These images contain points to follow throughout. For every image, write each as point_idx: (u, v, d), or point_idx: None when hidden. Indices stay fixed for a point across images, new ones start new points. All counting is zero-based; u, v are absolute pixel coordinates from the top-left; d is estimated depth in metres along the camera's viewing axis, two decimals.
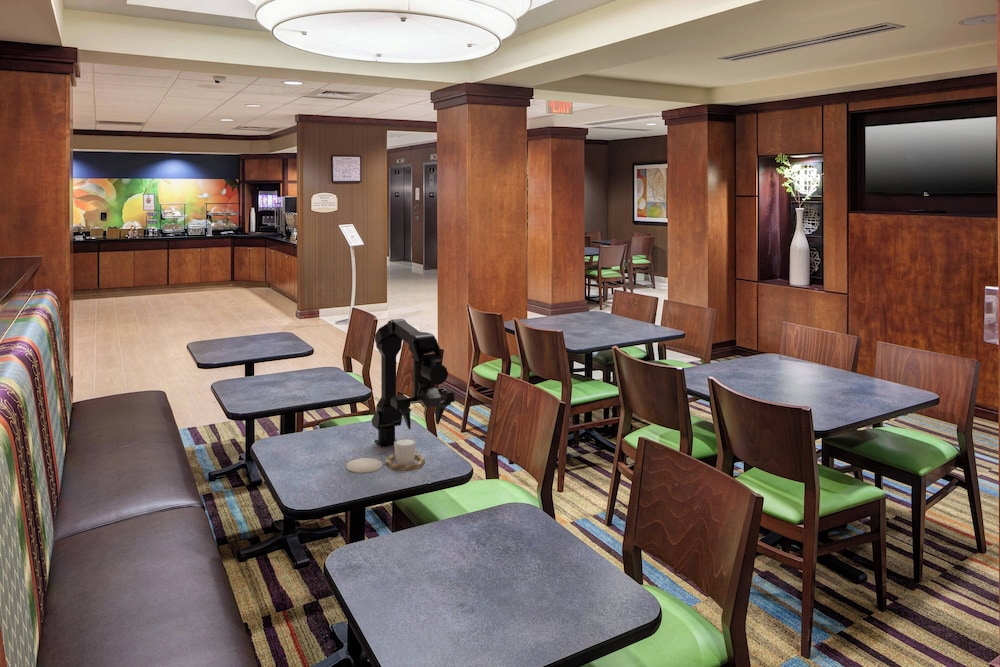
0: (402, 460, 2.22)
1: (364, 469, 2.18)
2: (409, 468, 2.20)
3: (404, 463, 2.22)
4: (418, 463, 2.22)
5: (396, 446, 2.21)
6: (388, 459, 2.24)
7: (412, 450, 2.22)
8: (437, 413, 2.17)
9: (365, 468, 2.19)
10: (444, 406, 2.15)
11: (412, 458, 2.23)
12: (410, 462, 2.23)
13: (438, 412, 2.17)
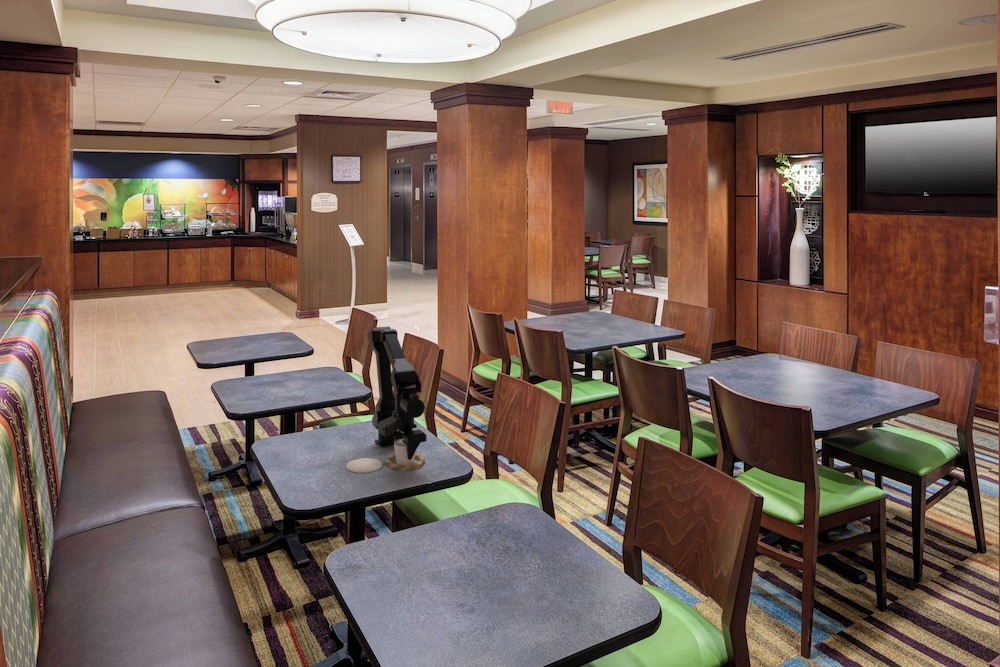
0: (402, 460, 2.22)
1: (364, 469, 2.18)
2: (409, 468, 2.20)
3: (404, 463, 2.22)
4: (418, 463, 2.22)
5: (396, 446, 2.21)
6: (388, 459, 2.24)
7: None
8: None
9: (365, 468, 2.19)
10: None
11: (412, 458, 2.23)
12: (410, 462, 2.22)
13: None
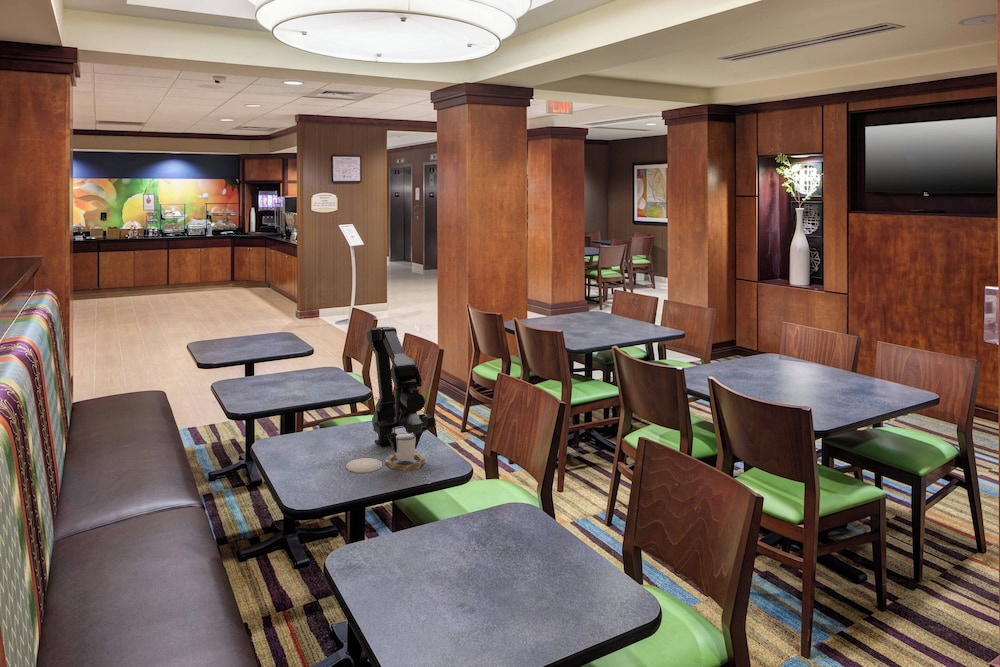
0: (414, 451, 2.24)
1: (364, 469, 2.18)
2: (409, 468, 2.20)
3: None
4: (418, 463, 2.22)
5: (411, 441, 2.21)
6: (388, 459, 2.24)
7: None
8: None
9: (365, 468, 2.19)
10: (421, 431, 2.23)
11: None
12: None
13: (416, 437, 2.25)
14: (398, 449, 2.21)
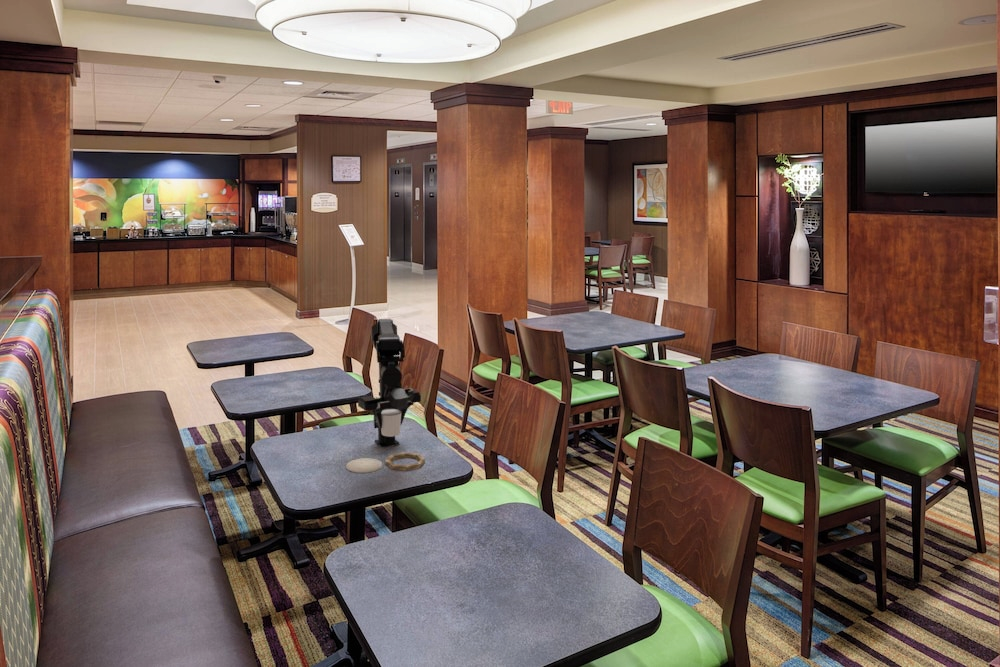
0: None
1: (364, 469, 2.18)
2: (409, 468, 2.20)
3: None
4: (418, 463, 2.22)
5: (397, 416, 2.18)
6: (388, 459, 2.24)
7: None
8: None
9: (365, 468, 2.19)
10: (407, 406, 2.21)
11: None
12: None
13: (401, 412, 2.22)
14: (384, 425, 2.19)
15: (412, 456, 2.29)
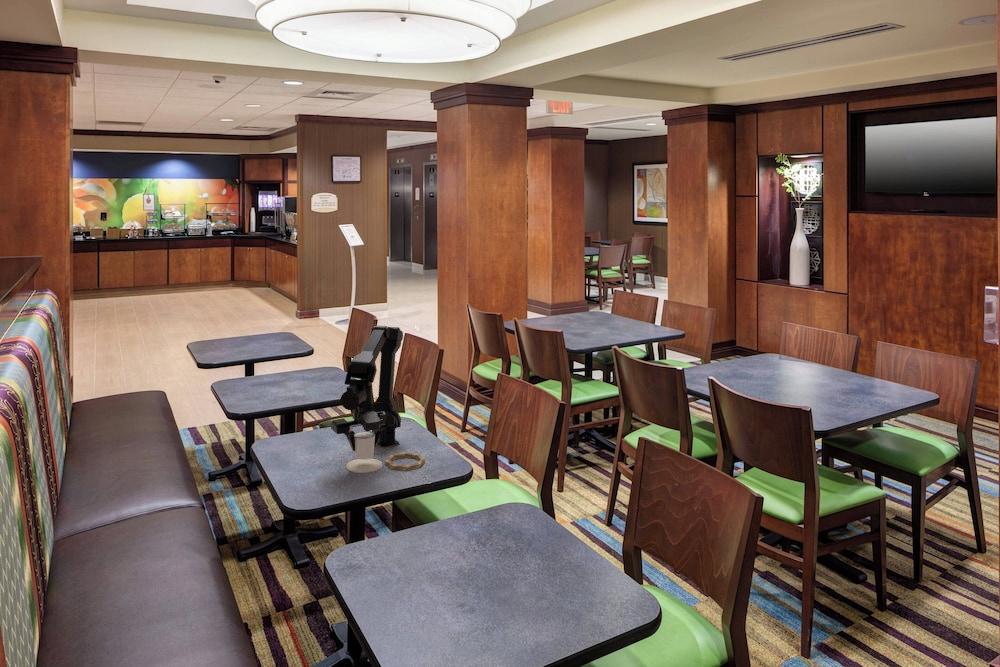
0: (373, 450, 2.21)
1: (364, 469, 2.18)
2: (409, 468, 2.20)
3: (373, 452, 2.21)
4: (418, 463, 2.22)
5: (370, 439, 2.18)
6: (388, 459, 2.24)
7: None
8: None
9: (365, 468, 2.19)
10: (380, 429, 2.20)
11: None
12: None
13: (375, 435, 2.22)
14: (357, 448, 2.18)
15: (412, 456, 2.29)
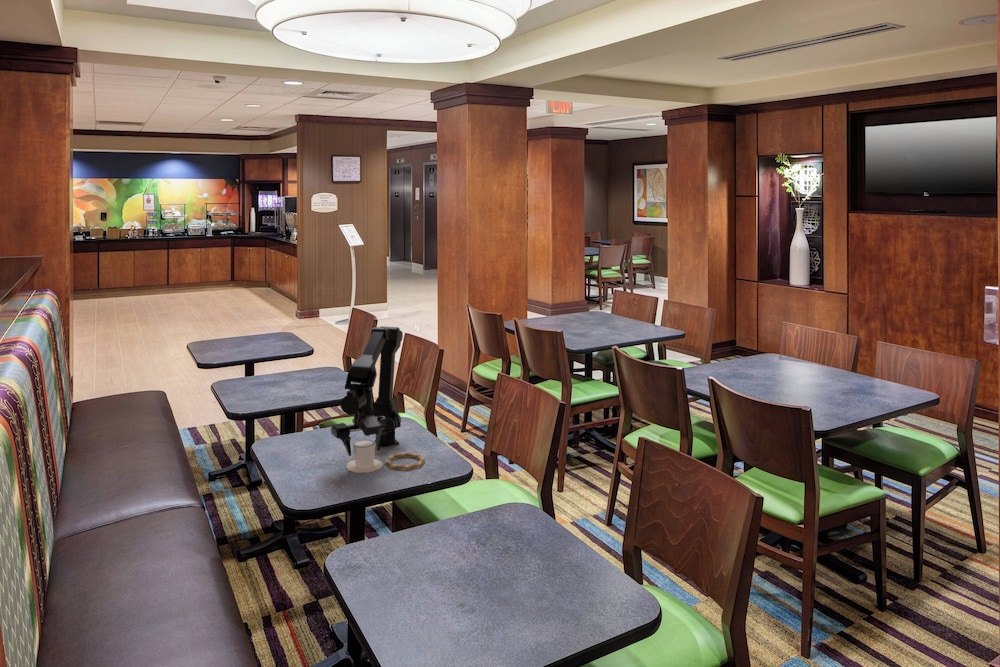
0: (373, 458, 2.21)
1: (364, 469, 2.18)
2: (409, 468, 2.20)
3: (373, 461, 2.22)
4: (418, 463, 2.22)
5: (370, 448, 2.18)
6: (388, 459, 2.24)
7: None
8: (378, 439, 2.23)
9: (365, 468, 2.19)
10: (384, 433, 2.21)
11: None
12: None
13: (378, 439, 2.22)
14: (357, 456, 2.19)
15: (412, 456, 2.29)
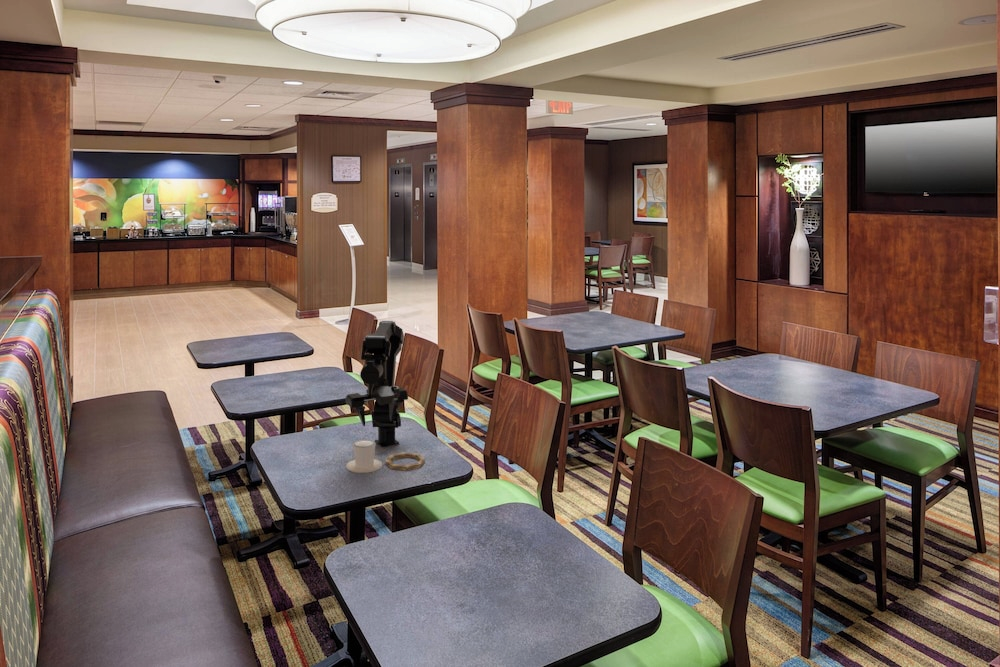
0: (373, 458, 2.21)
1: (364, 469, 2.18)
2: (409, 468, 2.20)
3: (373, 461, 2.22)
4: (418, 463, 2.22)
5: (370, 448, 2.18)
6: (388, 459, 2.24)
7: None
8: (391, 410, 2.27)
9: (365, 468, 2.19)
10: (397, 403, 2.25)
11: None
12: None
13: (392, 409, 2.26)
14: (357, 456, 2.19)
15: (412, 456, 2.29)
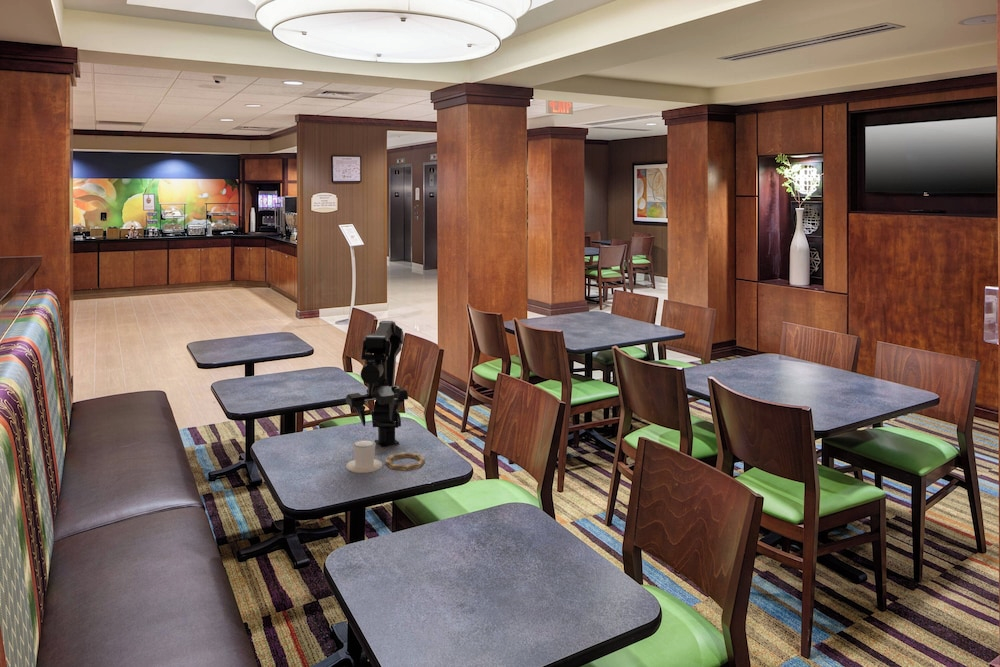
0: (373, 458, 2.21)
1: (364, 469, 2.18)
2: (409, 468, 2.20)
3: (373, 461, 2.22)
4: (418, 463, 2.22)
5: (370, 448, 2.18)
6: (388, 459, 2.24)
7: None
8: (391, 410, 2.27)
9: (365, 468, 2.19)
10: (398, 403, 2.25)
11: None
12: None
13: (392, 409, 2.26)
14: (357, 456, 2.19)
15: (412, 456, 2.29)
